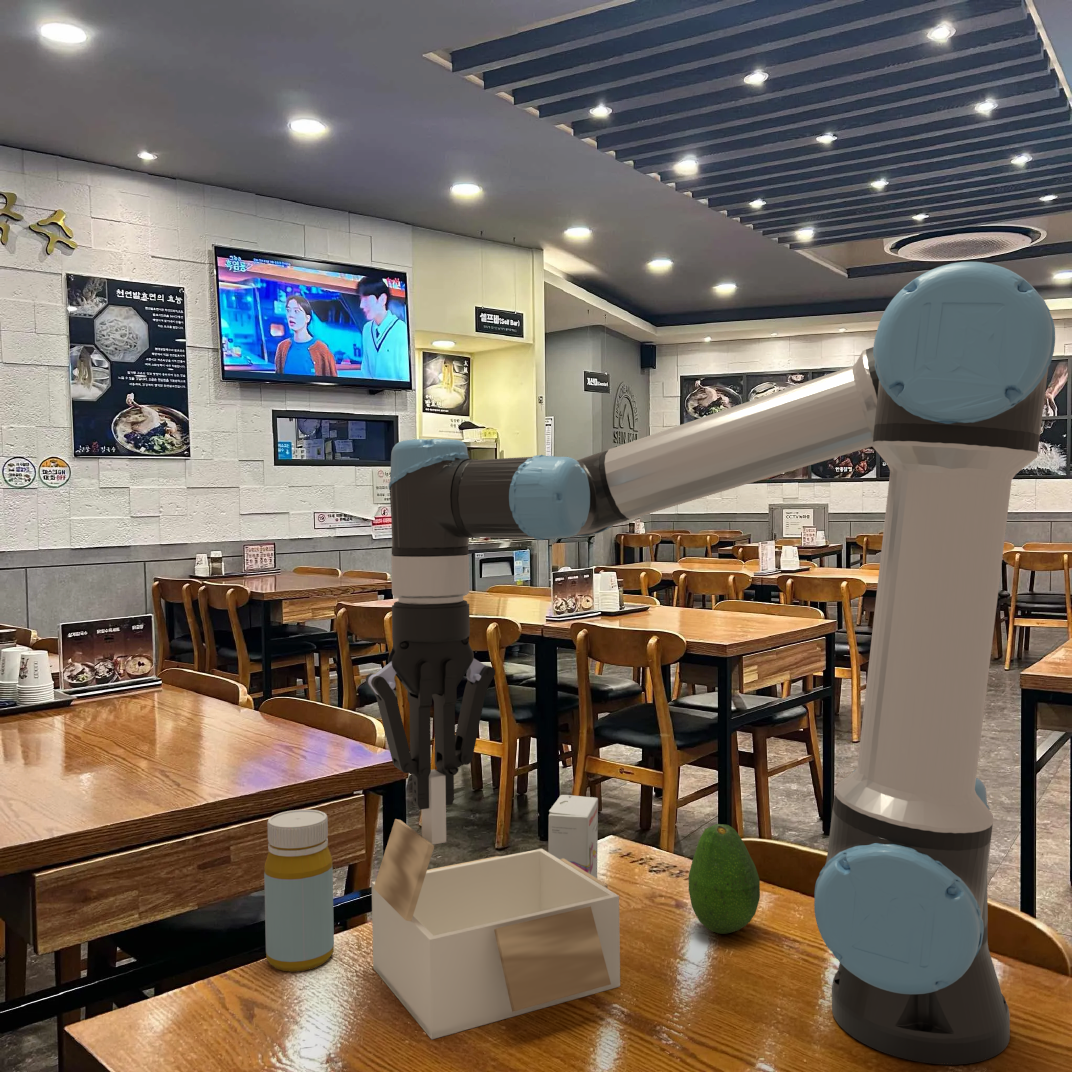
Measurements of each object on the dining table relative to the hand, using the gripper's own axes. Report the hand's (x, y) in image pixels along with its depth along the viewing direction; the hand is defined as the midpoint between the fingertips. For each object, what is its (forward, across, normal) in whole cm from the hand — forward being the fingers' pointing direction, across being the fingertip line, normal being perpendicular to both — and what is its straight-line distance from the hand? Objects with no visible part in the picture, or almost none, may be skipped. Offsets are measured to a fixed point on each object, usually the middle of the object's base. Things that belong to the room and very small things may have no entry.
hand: (433, 839), depth 97 cm
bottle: (+15, +10, -14) cm, 23 cm away
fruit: (+15, -33, +3) cm, 37 cm away
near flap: (+6, -7, +9) cm, 13 cm away
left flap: (+6, +5, 0) cm, 7 cm away
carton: (+15, -6, 0) cm, 16 cm away
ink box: (+15, -23, -13) cm, 31 cm away
